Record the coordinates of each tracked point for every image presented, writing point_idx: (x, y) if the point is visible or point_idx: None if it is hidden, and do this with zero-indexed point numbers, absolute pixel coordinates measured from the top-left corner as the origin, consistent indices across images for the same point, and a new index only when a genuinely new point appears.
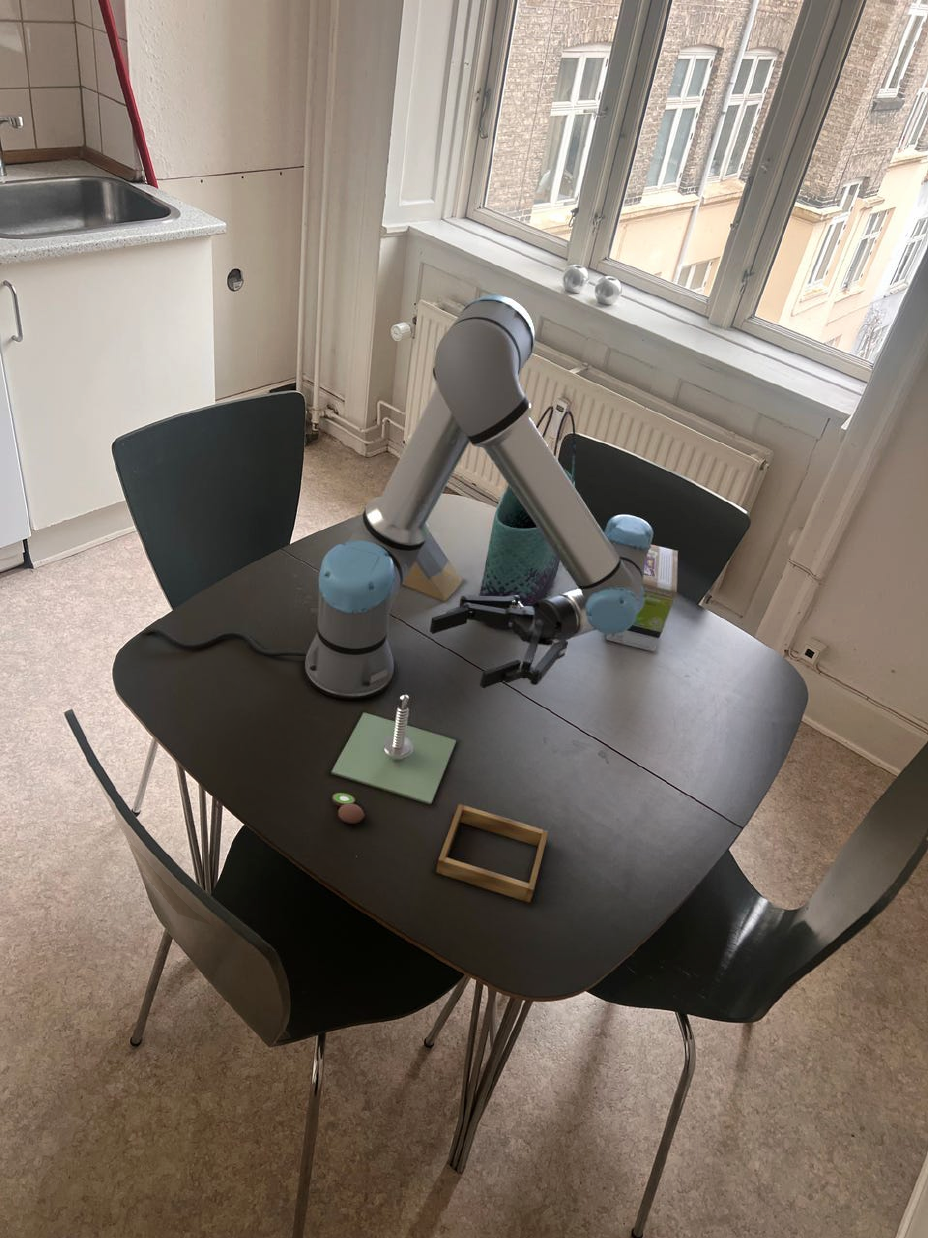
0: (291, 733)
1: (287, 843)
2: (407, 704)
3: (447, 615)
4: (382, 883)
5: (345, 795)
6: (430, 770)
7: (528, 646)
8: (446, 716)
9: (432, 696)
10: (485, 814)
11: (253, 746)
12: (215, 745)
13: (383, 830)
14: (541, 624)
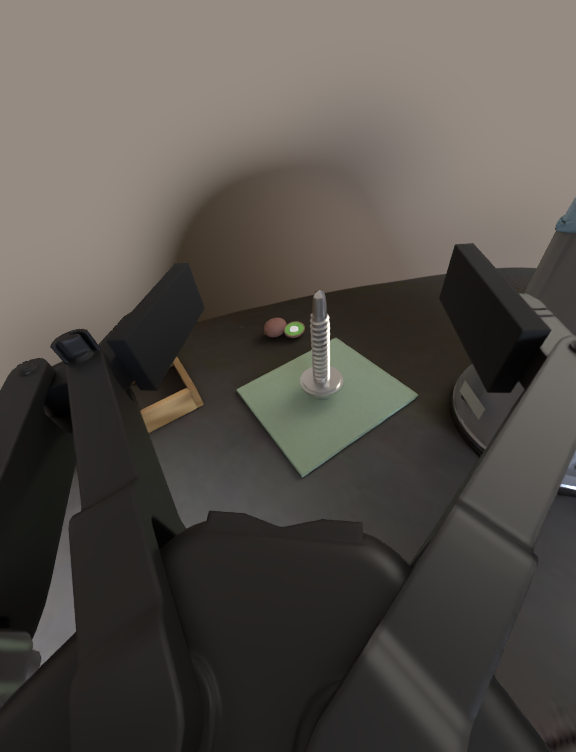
0: (409, 332)
1: (286, 301)
2: (312, 307)
3: (481, 269)
4: (207, 330)
5: (297, 332)
6: (275, 412)
7: (122, 424)
8: (366, 503)
9: (431, 514)
10: (158, 402)
11: (402, 308)
12: (414, 292)
13: (246, 348)
14: (98, 693)
